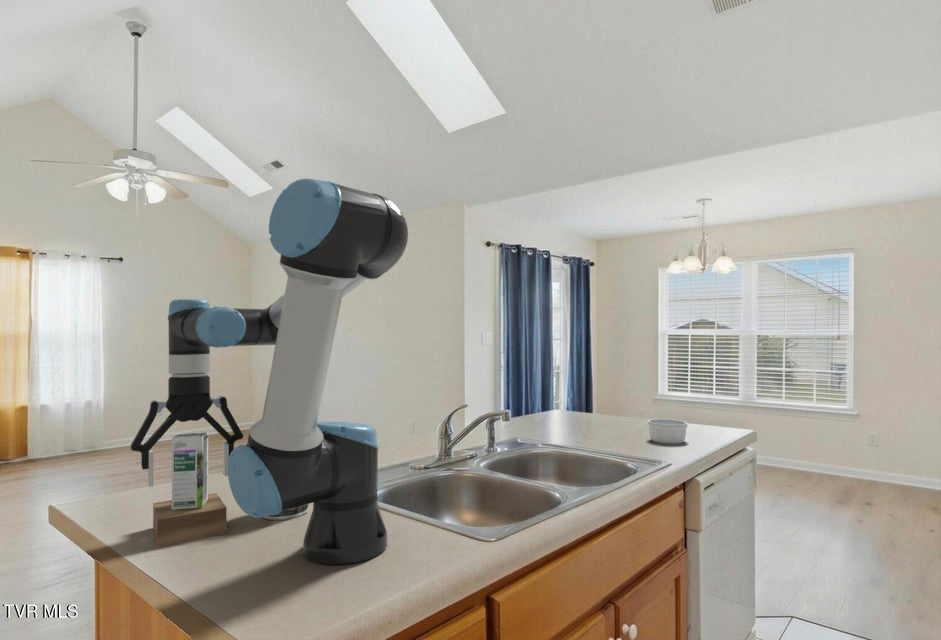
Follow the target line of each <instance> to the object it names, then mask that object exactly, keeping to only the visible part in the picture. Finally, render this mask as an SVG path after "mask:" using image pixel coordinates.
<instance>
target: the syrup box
mask: <svg viewBox="0 0 941 640" xmlns="http://www.w3.org/2000/svg"><path fill="white" fill-rule="evenodd" d="M208 494H209V431H202V432H186V433H182V432H181V433H177V434H175V435H174V436H172V438H171V500H172V510H179V509H192V508H202V507H203V506H204V504H205V503H206V501H207V500H208Z"/></svg>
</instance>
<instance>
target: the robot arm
mask: <svg viewBox="0 0 941 640" xmlns="http://www.w3.org/2000/svg"><path fill="white" fill-rule="evenodd" d="M268 233H269V234H270V235H271V236H270V238H269V240H270V241H269V242H270V244H271V245H272V248H273V249H274V250H275V251H276V253H278V254H280V259H279V265H280V266H281V268H282V269H283V271H284V272H285V274H286V276H287V281H286V285H285V289H284V290H285V291H284V293H283V294H282V295H281V296H280V297H279V298H278V299H277V300H275V301H274V302H273V303H272V304H271V305H269V306H268V307H267V308H233V307H227V306H213V307H210V303H209V301H208V300H205V299H191V298H190V299H187V298H185V299H183V298H182V299H181V298H180V299H172V300H171V301H170V302H169V304H168V305H169V306H168V315H167V320H168V374H169V375H171V376H170V377H169V378H168V383H167V384H168V390H167V391H168V393H167V394H168V396H167V397H168V398H167V400H166V401H157V400H152V401H150V404H149V410H148V413H147V415H146V417H145V419H144V420H143V422H142V425H141V426H140V427H139V429H138V431H137V432H136V435H135V437H134V438H133V440H132V442H131V443H130V449H131V450H130V451H132V452H139V453H140V454H141V456H140V457H141V459H140V461H141V469H142V470H147V484H148V488H150V487H154V451H153V450H151V449H152V448H153V447H154V446H155V445H157V444H156V443H158V442H159V441H160V439H161V438H162V437H163V436H164V435H165V434H166V432H168V430H169V429H170V428H171V427H172V426H173V425H174V424H175V423H176V421H178V422H181V423H185V422H189V421H194V422H198V421H199V420H201V419H204V420H205V421H206V422H207V423H209V425H210V426H212V428H214V430H215V431H216V432H217V433H218V434H219V435H220V436H221V437H222V438H223V439H224V440H226V441H225V442H222V444H221V445H222V454H221V455H222V456H221V457H222V461H221V462H222V466H221V467H222V469H221V470H222V475H223V476H224V477H226V476H227V479H228V484H229V488H230V491H231V493H232V496H233V499H234V501H235V502H236V504H237V505H238V507H239V508H240V510H241V511H243V513H245V514H246V515H248V516H249V517H252V518H258V519H260V518H262V517H265V516H269V515H278V514H279V513H281V512H283V511H287V510H290V509H293V508H296V507H300V506H303V505H306V504H308V505H310V504H313V506H312V507H313V508H312V513H311V516H310V518H309V521H308V524H307V528H306V530H305V534H304V537H303V542H302V543H303V546H302V551H303V556H304V557H305V558H306V559H307V560H309V561H311V562H314V563H317V564H321V565H322V564H323V565H347V564H355V563H359V562H363V561H367V560H369V559H370V560H371V559H373V558H376V556H378V555H380V554H382V553H383V552H384V551H385V550H386V549H387V547H388V531H387V527H386V524H385V522H384V520H383V516H382V513H381V510H380V507H379V503H378V501H379V500H378V470H379V469H378V468H379V467H378V463H379V462H378V460H379V458H378V451H379V445H378V438H377V430H376V429H375V428H374V426H372V425H369V424H366V423H361V422H359V423H358V422H347V421H318V419H319V416H320V415H319V414H320V409H321V404H322V400H323V399H322V398H323V394H324V389H325V384H326V380H327V375H328V370H329V369H328V368H329V365H330V361H331V360H330V359H331V356H332V355H331V354H332V349H333V344H334V339H335V335H336V329H337V325H338V320H339V316H340V315H339V314H340V309H341V305H342V300H343V298H344V297H345V296H347V295H348V294H349V293H351V292H352V291H353V290H355V289H356V288H357V287H359V286H360V285H361V284H362V283H364V282H365V281H366V280H376V279H379V278H380V277H381V276H383V275H384V274H385V273H387V272H388V271H389V270H391V269H392V268H393V267H394V266H395V265H396V264H397V263H398V262H399V261H400V260H401V258H402V256H403V255H404V253H405V250H406V247H407V245H408V238H409V230H408V225H407V221H406V217H405V216H404V214H403V212H402V211H401V209H400V208H399V207H398V205H396V203H394V202H393V201H392V200H391V199H389V198H387V197H385V196H383V195H381V194H378V193H370V192H368V191H364V190H360V189H356V188H351V187H349V186H346V185H341V184H338V183H335V182H331V181H329V180H327V181H326V180H319V179H314V178H300V179H297V180H295V181H293V182H291V183H290V184H289V185H288V186H287V187H286V188H283V190H282V191H281V193H280V194H279V196H278V197H277V199H276V200H275V202H274V204H273V207H272V209H271V213H270V217H269V221H268ZM241 346H242V347H245V346H246V347H247V346H274V351H273V357H272V362H271V366H270V367H271V369H270V373H269V377H268V385H267V388H266V395H265V399H264V407H263V411H262V416H261V418H260V419H259V420H258V421H256V422H254V423H253V424H252V425H251V426H250V429H249V433H248V438H247V443H246V444H240V445H239V446H237V447H234V446H235V442H236V441H239V440H242V439H243V438H244V434H243V432H242V430H241V428H240V427H239V424H238V423H237V422H236V419H235V418H234V416H233V414H232V412H231V411H230V409H229V408H228V402H227V401H228V400H227V397H225V396H224V395H220V396H219V397H214V398H212V397H211V381H210V380H211V377H210V375H209V373H210V371H211V358H210V357H211V356H210V355H211V354H210V353H211V347H213V348H228V347H241ZM212 405H214V406H215V407H216V408H219V410H220V411H221V414H222V415H223V417H224V419H225V420H226V422H227V424H228V425H229V427H230V429H231V431H232V433H233V434H230V433H229V432H228V431H227V430H226V429H225V428H224V427H223V426H222V425H221V424H220V423H219V422H218V421H217V420H216V419H215V418H214V417H213V416H212V415H211V414H210V413H209V412H208V411H209V409H210V408H211V407H212ZM163 409H167V410H168V411H169V412H170V414H169V415H168V416H167V417H166V418H165V420H164V421H163V422H162V424H161V425H160V426H159V427H158V428H157V429H156V430H155V431H154V432H153V434H152V435H150V437H149V438H148V439H147V440H146V441H145V442H144V444H142V442H143V440H144V439H145V437H146V435H147V433H148V432H149V430H150V428H151V426H152V425H153V422H154V421H155V419H156V417H157V414H158V413H159V414H160V413H161V412H162V411H163Z"/></svg>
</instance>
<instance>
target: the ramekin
mask: <svg viewBox="0 0 941 640" xmlns="http://www.w3.org/2000/svg"><path fill="white" fill-rule="evenodd" d="M647 425H648V430H649V437H650V440H651V441H653V442H655V443H658V444H664V445H665V444H668V445H669V444H670V445H673V444H674V445H675V444H676V445H677V444H682V443H683V442H685V440H686V435H687V428H688V422H686V421H684V420H680V419H673V418H672V419H671V418H652V419H648V420H647Z"/></svg>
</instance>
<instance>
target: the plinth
mask: <svg viewBox="0 0 941 640" xmlns="http://www.w3.org/2000/svg"><path fill="white" fill-rule="evenodd" d="M152 504H153V505H152V509H153V510H152V514H153V515H152V528H153V532H154V538H155V542H156V546H157V547H162V546H167V545H172V544H179V543H182V542H187V541H192V540H198V539H202V538H206V537H207V538H208V537H212V536H213V537H214V536H217V535H222V534H223V535H224V534H226V533H227V507H226V505H225V504H224V502H223V501H222V499H221V498H220V496H219V494H218V492H215V493H208V500H207V501H206V503H205V504H204V506H203V507H202V508H192V509H179V510H172V499H171V500H165V501H164V500H163V501H158V502H153V503H152Z"/></svg>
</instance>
